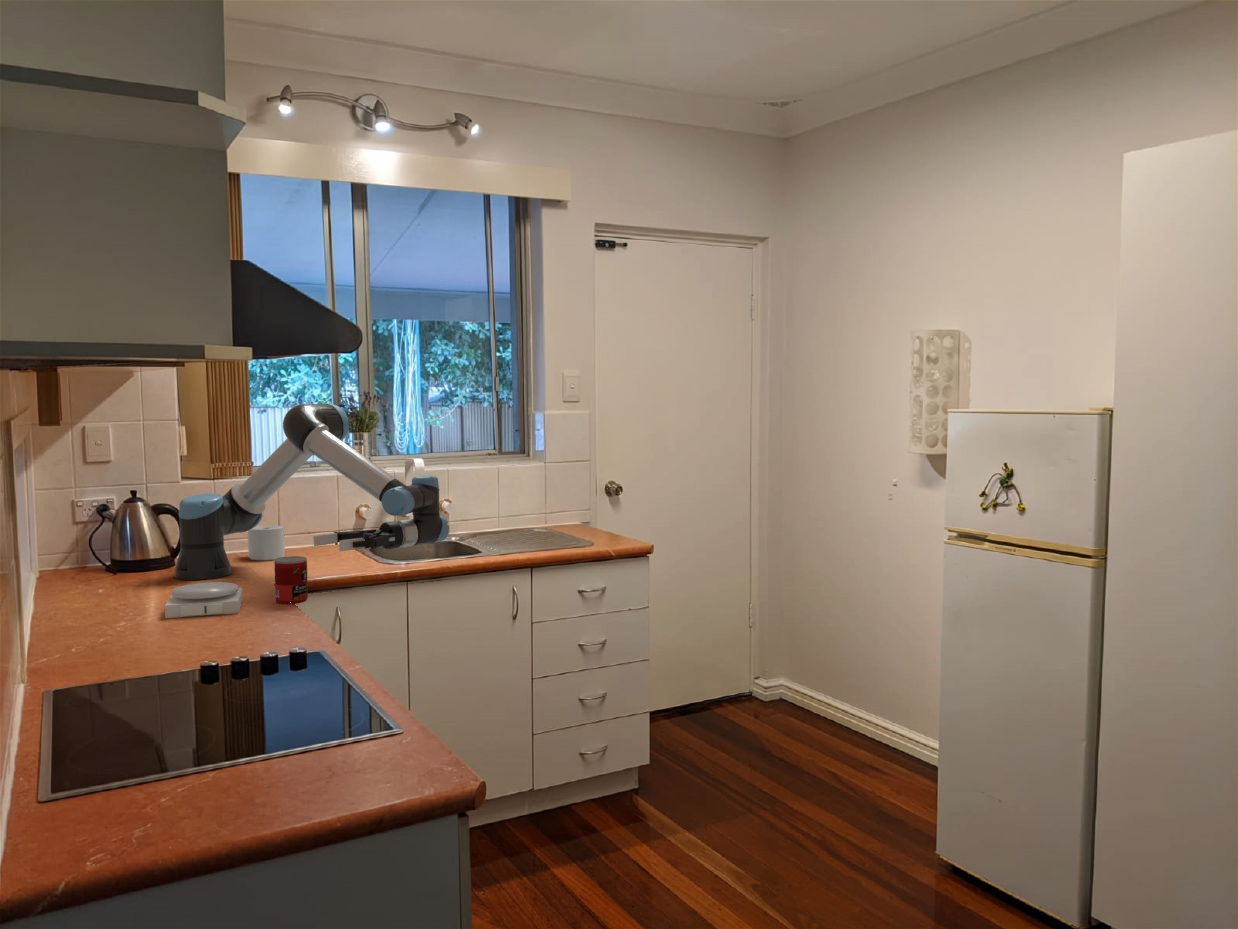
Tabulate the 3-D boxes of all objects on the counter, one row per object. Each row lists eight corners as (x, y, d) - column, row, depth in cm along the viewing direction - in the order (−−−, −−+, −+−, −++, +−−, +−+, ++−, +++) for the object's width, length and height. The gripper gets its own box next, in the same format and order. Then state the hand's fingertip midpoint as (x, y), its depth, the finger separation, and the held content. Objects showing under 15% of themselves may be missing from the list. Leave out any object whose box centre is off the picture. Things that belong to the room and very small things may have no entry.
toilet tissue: (280, 560, 296) (279, 529, 296) (241, 561, 295) (240, 530, 294) (287, 554, 307) (287, 525, 306) (250, 555, 305) (249, 525, 305)
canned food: (297, 605, 232) (296, 561, 231) (269, 603, 234) (267, 560, 233) (313, 598, 240) (312, 556, 239) (285, 597, 241) (284, 555, 240)
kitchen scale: (174, 604, 233) (173, 584, 233) (242, 599, 238) (242, 580, 238) (164, 619, 217) (163, 598, 217) (238, 614, 222) (237, 593, 222)
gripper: (423, 552, 249) (351, 562, 234) (373, 543, 267) (304, 552, 252) (422, 524, 249) (350, 533, 234) (373, 517, 266) (303, 525, 251)
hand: (326, 543), depth 243 cm, fingers open, 13 cm apart
